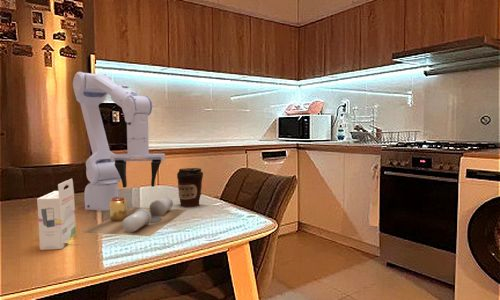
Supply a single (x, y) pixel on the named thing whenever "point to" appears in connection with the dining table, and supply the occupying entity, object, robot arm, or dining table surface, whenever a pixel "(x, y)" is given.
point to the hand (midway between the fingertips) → (138, 186)
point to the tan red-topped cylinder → (118, 209)
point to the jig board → (148, 230)
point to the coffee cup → (189, 186)
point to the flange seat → (155, 219)
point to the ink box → (56, 217)
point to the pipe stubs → (146, 214)
